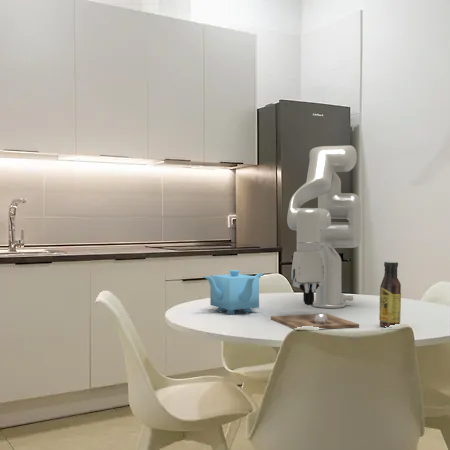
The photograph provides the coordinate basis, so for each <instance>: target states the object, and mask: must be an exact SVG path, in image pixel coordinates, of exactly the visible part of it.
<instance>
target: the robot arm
mask: <svg viewBox="0 0 450 450" xmlns="http://www.w3.org/2000/svg"><path fill="white" fill-rule="evenodd" d="M356 164H357V150H356V148H355V147H354V146H353V145H322V146H316V147H313V148H312V149H310V150H309V163H308V168H307V169H308V170H307V175H306V176H307V177H306V181H305V183H303V184H302V185H301V186H300V187H299V188H298V189H297V190H296V191H295V192H294V194H292V196H291V198H290V200H289V205H288V210H287V216H286V217H287V218H286V222H287V226H288V228H289V229H290V230H292V231H296V251H294V252H293V257H292V264H291V273H290V274H291V275H290V276H291V277H290V278H291V281H292V287H295V288H297V289H300V290H301V292H302V293H303V297H302V298H303V300H302V301H303V303H304V305H306V306H311V307H315V308H321V309H322V308H325V309H340V308H345V307H346V301H349V302H350V301H354V296H353V295H345V293H342V258H341V255H340V254H339V253H338V252H337V251H336V249H338V248H339V249H345V248H346V249H347V248H349V249H353V248H357V247H359V246H360V244H361V239H362V205H361V204H362V203H361V199H360V197H359V195H358V194H356V193H352V192H349V193H344V192H343V193H342V191H341V190H342V180H341V178H340V177H339V175H338V174H337V173H346V172H350V171H352V170H353V169H354V168H355V166H356ZM316 198H317V207H302V205H304V204H305V203H307V202H309V201H310V200H313V199H316ZM301 207H302V208H301ZM332 219H337V220H338V219H340V220H341V219H342V220H347V221H348V222H347V221H346V222H344V221H343V222H342V221H340V222H339V221H332Z"/></svg>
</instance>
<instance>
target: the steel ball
mask: <svg viewBox="0 0 450 450" xmlns="http://www.w3.org/2000/svg"><path fill="white" fill-rule="evenodd" d="M316 314H317V315H316V316H315V318H314V322H315V324H326V323H327V317H326V315H325V314H326V313H323V312H319V313H316Z"/></svg>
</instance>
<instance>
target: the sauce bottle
mask: <svg viewBox="0 0 450 450" xmlns="http://www.w3.org/2000/svg"><path fill="white" fill-rule="evenodd" d="M383 266H384V273H383V274H384V276H383V278H382V281H381V284H380V286H379V314H378V315H379V319H378V320H379V325H380V327H384V328H386V327H385V326H390V325H395V324H400V325H401V313H402V312H401V311H402V310H401V308H402V307H401V305H402V299H401V298H402V292H401V291H402V290H401V289H402V285H401V282H400V280H399V279H398V267H399V262H398V261H393V260H389V261H388V260H387V261H384V264H383Z"/></svg>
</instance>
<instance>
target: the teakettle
mask: <svg viewBox="0 0 450 450" xmlns="http://www.w3.org/2000/svg"><path fill="white" fill-rule="evenodd" d="M239 272H240V270H237V269H231V270H229V274H213V275H212V274H211V275H210V276H203V278H204V279H206V280H207V281H208V283H209V286H210V291H209V293H210V295H209V296H210V298H209V299H210V302H209V303H210V306H213V307H217V310H216V312H219V311H223V312H225V311H226V310H227V311H226V313H227V314H226V315H235V314H236V311H241V310H240V309H242V310H243V312H244V313H245V312H252V313H253V310H252V309H259V308H260V278H261V277H262V276H264V275H265V273H257V274H255V275H248V274H241V273H239Z"/></svg>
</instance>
